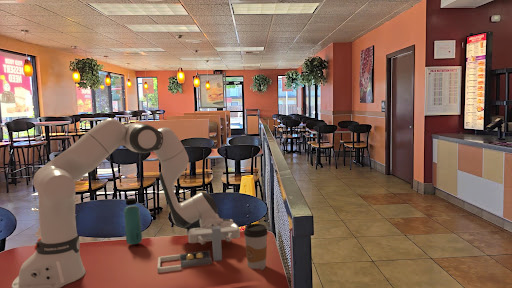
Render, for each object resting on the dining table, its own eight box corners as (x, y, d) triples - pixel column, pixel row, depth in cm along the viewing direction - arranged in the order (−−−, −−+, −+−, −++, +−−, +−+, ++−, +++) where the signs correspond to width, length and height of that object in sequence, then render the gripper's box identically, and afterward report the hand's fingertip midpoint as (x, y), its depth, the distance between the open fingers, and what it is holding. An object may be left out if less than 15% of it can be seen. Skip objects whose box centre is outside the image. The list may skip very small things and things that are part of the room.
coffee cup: (240, 268, 138) (238, 227, 136) (256, 260, 144) (254, 221, 142) (257, 275, 133) (256, 233, 131) (273, 266, 139) (272, 226, 137)
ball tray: (157, 275, 135) (157, 268, 134) (158, 263, 144) (158, 256, 144) (181, 272, 136) (180, 265, 136) (180, 260, 146) (180, 254, 146)
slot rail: (181, 270, 138) (180, 262, 138) (180, 261, 145) (180, 254, 145) (211, 266, 140) (211, 258, 140) (209, 258, 147) (209, 250, 147)
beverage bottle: (137, 248, 159) (134, 201, 157) (123, 247, 161) (119, 200, 158) (145, 242, 166) (142, 196, 163) (131, 241, 167) (127, 196, 164)
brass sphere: (196, 263, 141) (195, 255, 141) (195, 259, 144) (195, 252, 144) (204, 262, 142) (203, 254, 141) (203, 258, 145) (203, 251, 144)
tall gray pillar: (214, 264, 142) (212, 230, 141) (213, 259, 146) (211, 226, 144) (222, 263, 143) (220, 229, 141) (220, 258, 147) (219, 225, 145)
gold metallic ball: (186, 264, 141) (185, 256, 140) (186, 260, 143) (185, 253, 143) (194, 263, 141) (194, 255, 141) (194, 259, 144) (193, 252, 144)
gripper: (185, 223, 156) (187, 235, 142) (236, 218, 160) (242, 230, 147) (186, 238, 156) (188, 252, 143) (236, 233, 161) (242, 246, 147)
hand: (216, 241), depth 145 cm, fingers open, 8 cm apart
